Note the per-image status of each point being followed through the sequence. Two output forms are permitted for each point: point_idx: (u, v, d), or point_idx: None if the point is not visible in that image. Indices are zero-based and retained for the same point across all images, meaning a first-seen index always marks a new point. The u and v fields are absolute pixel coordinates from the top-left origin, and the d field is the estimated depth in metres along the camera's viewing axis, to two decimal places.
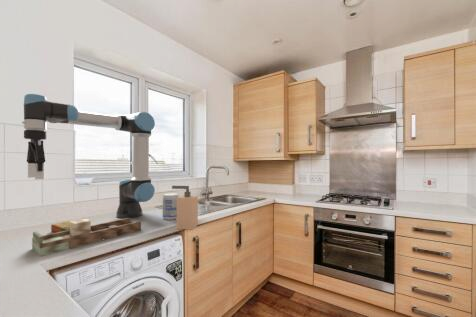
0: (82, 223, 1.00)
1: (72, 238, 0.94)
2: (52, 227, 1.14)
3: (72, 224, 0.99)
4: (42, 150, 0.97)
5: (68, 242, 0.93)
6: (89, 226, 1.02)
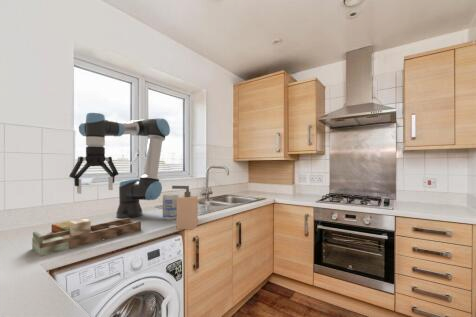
0: (82, 223, 1.00)
1: (72, 238, 0.94)
2: (52, 227, 1.14)
3: (72, 224, 0.99)
4: (76, 166, 1.01)
5: (68, 242, 0.93)
6: (89, 226, 1.02)
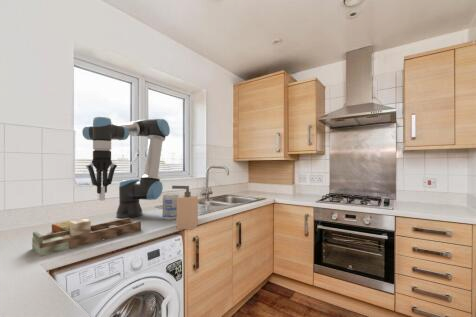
0: (82, 223, 1.00)
1: (72, 238, 0.94)
2: (52, 227, 1.14)
3: (72, 224, 0.99)
4: (91, 175, 1.05)
5: (68, 242, 0.93)
6: (89, 226, 1.02)
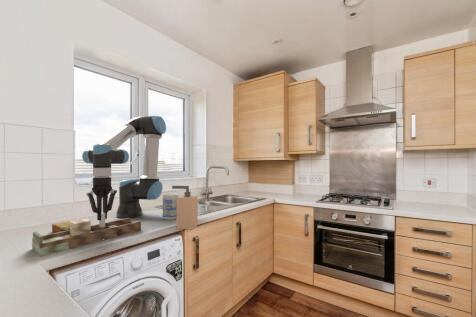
0: (82, 223, 1.00)
1: (72, 238, 0.94)
2: (53, 227, 1.14)
3: (72, 224, 0.99)
4: (91, 202, 1.05)
5: (68, 242, 0.93)
6: (89, 226, 1.02)
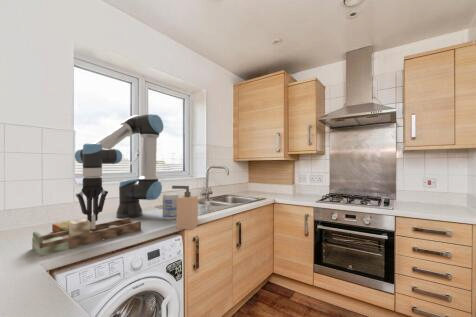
0: (81, 223, 1.00)
1: (72, 238, 0.94)
2: (53, 227, 1.14)
3: (71, 224, 0.99)
4: (81, 204, 1.01)
5: (68, 242, 0.93)
6: (88, 226, 1.02)
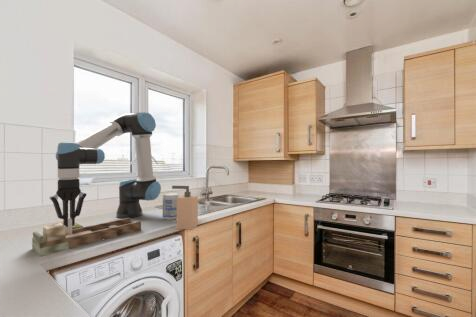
0: (56, 228, 0.92)
1: (72, 238, 0.94)
2: None
3: (45, 229, 0.92)
4: (55, 207, 0.94)
5: (68, 242, 0.93)
6: (64, 231, 0.95)
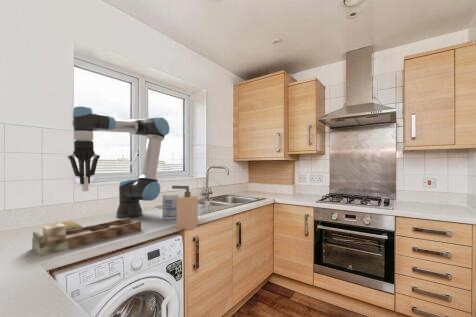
0: (56, 228, 0.92)
1: (72, 238, 0.94)
2: None
3: (45, 229, 0.92)
4: (73, 165, 1.03)
5: (68, 242, 0.93)
6: (64, 231, 0.95)
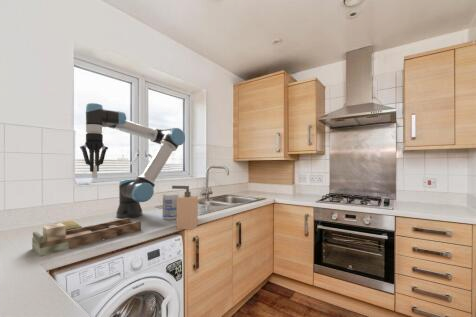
0: (56, 228, 0.92)
1: (72, 238, 0.94)
2: None
3: (45, 229, 0.92)
4: (84, 155, 1.17)
5: (68, 242, 0.93)
6: (64, 231, 0.95)
